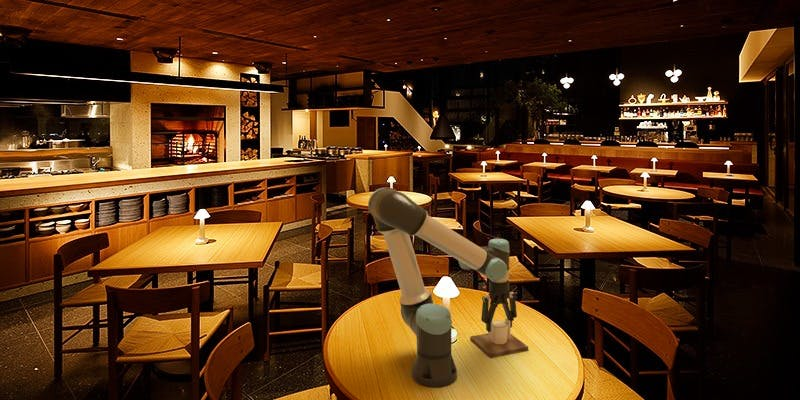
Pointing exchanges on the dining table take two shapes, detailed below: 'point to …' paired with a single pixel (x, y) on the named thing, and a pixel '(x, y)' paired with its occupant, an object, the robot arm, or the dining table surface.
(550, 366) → the dining table surface
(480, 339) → the serving board
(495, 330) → the beige cylinder
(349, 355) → the dining table surface
